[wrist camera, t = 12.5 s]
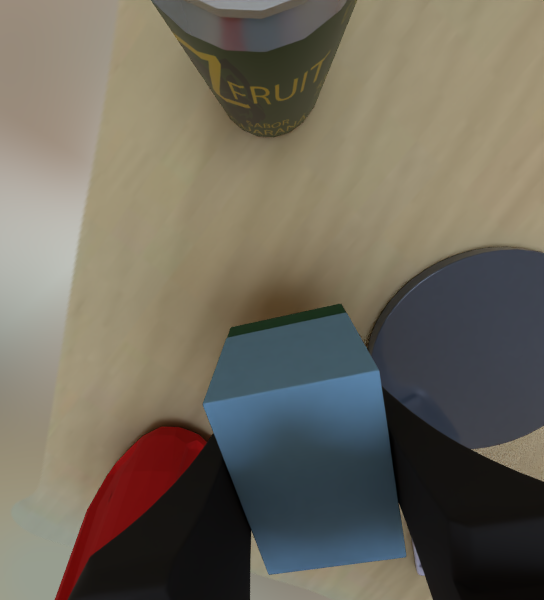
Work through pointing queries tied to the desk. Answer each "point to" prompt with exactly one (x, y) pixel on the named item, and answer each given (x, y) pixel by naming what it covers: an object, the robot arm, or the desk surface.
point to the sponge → (307, 441)
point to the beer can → (261, 54)
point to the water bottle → (131, 492)
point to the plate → (469, 345)
